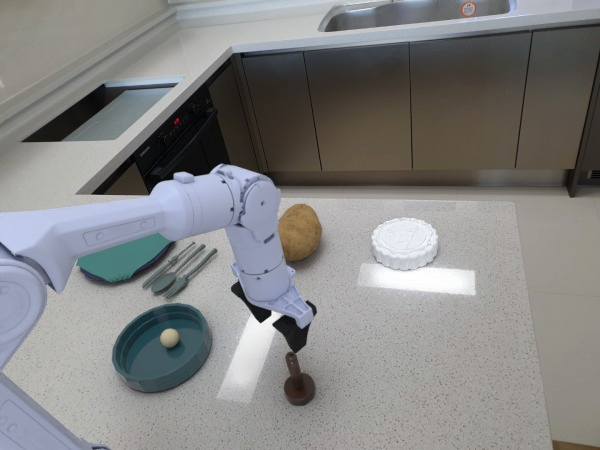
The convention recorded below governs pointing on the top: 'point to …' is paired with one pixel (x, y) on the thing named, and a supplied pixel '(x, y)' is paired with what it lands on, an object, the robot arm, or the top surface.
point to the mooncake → (404, 243)
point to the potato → (299, 232)
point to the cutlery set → (139, 262)
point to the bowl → (161, 347)
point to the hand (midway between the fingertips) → (281, 332)
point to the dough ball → (169, 338)
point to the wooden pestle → (298, 383)
